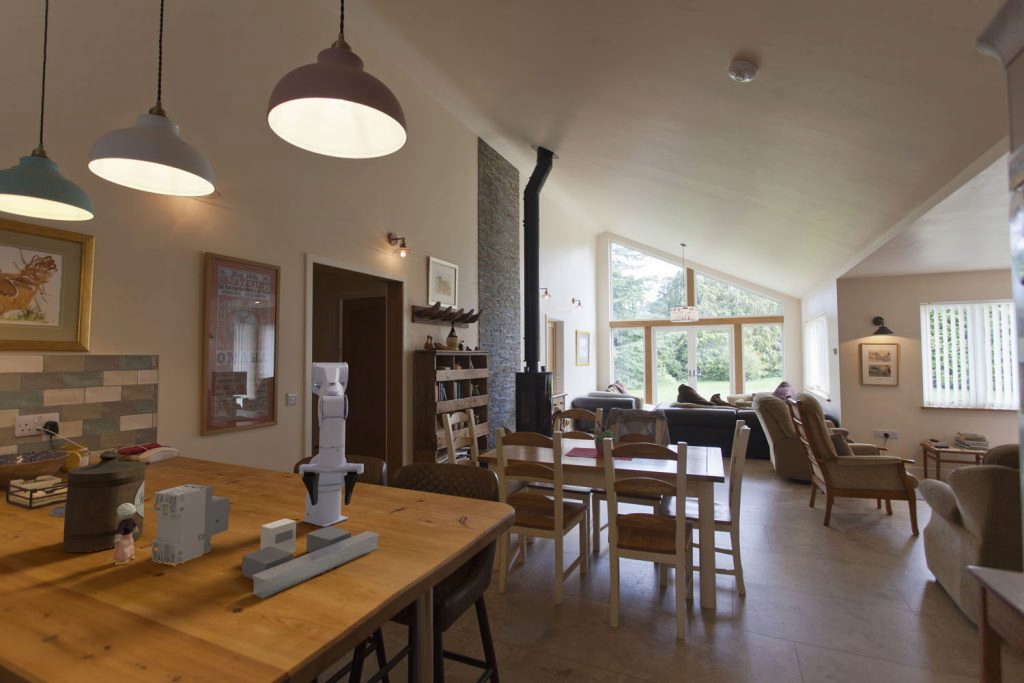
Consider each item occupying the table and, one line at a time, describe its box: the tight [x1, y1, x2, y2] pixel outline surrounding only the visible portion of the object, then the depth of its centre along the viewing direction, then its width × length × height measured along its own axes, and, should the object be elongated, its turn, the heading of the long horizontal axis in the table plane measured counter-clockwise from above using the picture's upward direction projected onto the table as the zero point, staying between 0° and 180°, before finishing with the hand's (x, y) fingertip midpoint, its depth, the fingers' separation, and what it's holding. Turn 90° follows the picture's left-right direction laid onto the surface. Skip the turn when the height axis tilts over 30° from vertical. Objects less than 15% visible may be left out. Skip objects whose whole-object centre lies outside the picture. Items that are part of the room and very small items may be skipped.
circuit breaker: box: [150, 483, 231, 565], centre depth 110 cm, size 8×14×15 cm, turn 161°
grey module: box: [259, 518, 297, 554], centre depth 108 cm, size 4×6×7 cm
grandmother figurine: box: [112, 503, 138, 563], centre depth 104 cm, size 8×4×13 cm, turn 23°
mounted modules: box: [241, 525, 352, 581], centre depth 104 cm, size 8×21×4 cm, turn 149°
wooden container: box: [62, 450, 146, 553], centre depth 117 cm, size 15×15×22 cm
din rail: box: [252, 530, 380, 600], centre depth 100 cm, size 4×28×4 cm, turn 149°
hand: (331, 504), depth 112 cm, fingers open, 7 cm apart
